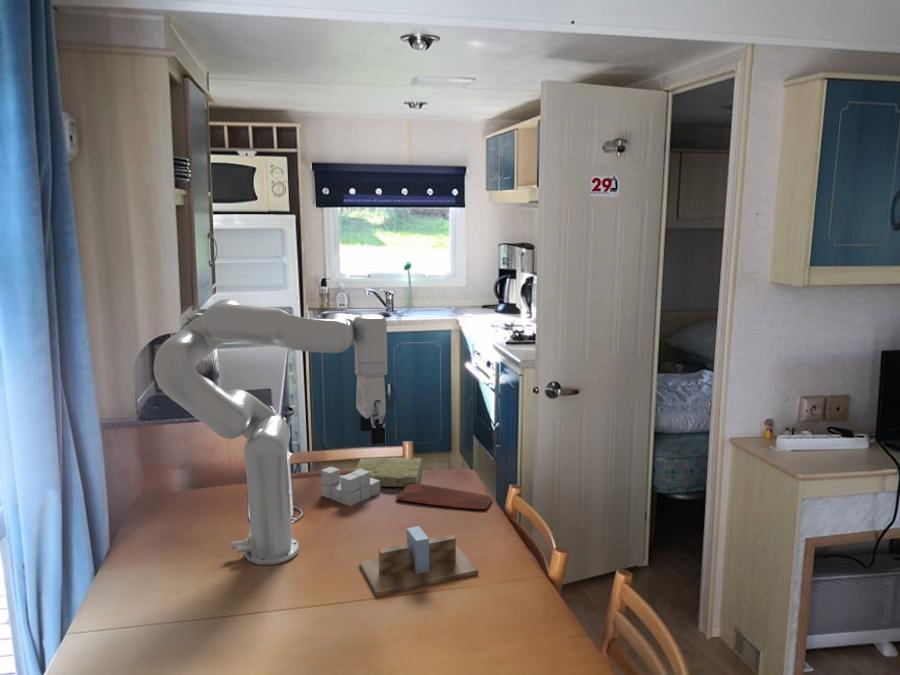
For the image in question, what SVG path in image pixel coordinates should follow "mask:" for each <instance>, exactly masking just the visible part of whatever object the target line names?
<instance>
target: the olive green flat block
mask: <svg viewBox="0 0 900 675" xmlns="http://www.w3.org/2000/svg"><path fill="white" fill-rule="evenodd" d="M407 458H408V457H405V456H404V457H370V456H368V457H367V456H366V457H362V458H360V459H359V462H358V464H357V466H356V468H355V470H354V471H356V470H359V469H363V470H366V471H369V472H370V478H373V479H376V480H379V481H380V487H385V488H386V487H390V488H391V487H392V488H394V487H395V488H396V487H398V488H399V487H401V488H402V487H405V485H406V484H408V483H414V484H419V480H420V479H421V475H422V470H423V460H422V458H421V457H410V458H411V459H407ZM412 458H413V460H412Z"/></svg>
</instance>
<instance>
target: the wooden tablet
mask: <svg viewBox="0 0 900 675" xmlns="http://www.w3.org/2000/svg"><path fill="white" fill-rule="evenodd" d="M395 499H396V500H400V501H405V502H411V503H418V504H427V505H435V506H443V507H452V508H460V509H472V510H473V509H475V510H484V509H485V510H486V509H487V508H488V507H489V505H490V504H491V501H492V496H490V495H487V494H486V495H485V494H482V493H477V492H472V491H465V490H460V489H454V488H449V487H443V486H437V485H429V484H425V483H424V484H421V483H418V484H414V483H408V484H406V485H405V487H404V488H403V491H400V492H399V493H397V494H396V495H395Z"/></svg>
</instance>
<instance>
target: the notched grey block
mask: <svg viewBox="0 0 900 675" xmlns="http://www.w3.org/2000/svg"><path fill="white" fill-rule="evenodd" d="M429 539H430V538H429V537H428V536H427V534H426V532H424V531H423V529H422V528H421V527H420V526H419V525H416V526H412V527H407V528H406V544H408V545H409V547H410V553H411V555H412V556H413V557H414V571H415V572H416V574H418V573H423V572H428V571H429Z"/></svg>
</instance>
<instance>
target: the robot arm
mask: <svg viewBox="0 0 900 675" xmlns="http://www.w3.org/2000/svg"><path fill="white" fill-rule="evenodd" d="M387 323H388V322H387V320H386V318H385V317H384V316H383V315H381V314H373V313H372V314H371V313H370V314H369V313H368V314H361V315H358V314H357V315H356V314H348V313H347V314H346V313H341V312H340V313H338V312H337V313H332V314H330V315H328V316H326V318H324V319H323V318H322V319H319V318H311V317H310V318H309V317H303V316H298V315H293V314H291V313H288V312H287V311H285V310H283V309H281V308H278V307H272V306H271V307H269V306H257V305H256V306H254V305H245V304H244V305H243V304H240V303H239V302H238V301H236V300H232V299H220V300H218V301H216V302H214V303H213V304H211V305H210V306H208V307H207V309H206V310H205V311H204V312H202V313H201V314H200V315H199V316H198V317H196V318H195V319H194V320H192V321H191V322H190V323H188V324H187V325H186V326H184V327H183V328H182V329H180V330H179V331H177V332H176V333H174V335H171V336H170V337H168V338H167V339H166V340H165V341H164V342H163V343H162V344H161V345H160V346H159V348H158V349H157V352H156V354H155V357H154V361H153V375H154V379H155V381H156V384H157V385H158V387H159V389H160V390H161V391H162V392H163V394H165V395H166V396H167V397H168V398H169V399H170V400H172V401H173V402H175V403H176V404H177V405H179V406H180V407H182V408H183V409H184V410H186V411H187V412H188V413H190V415H192V416H193V417H194V418H195V419H196V420H198V421H199V422H200V423H202V424H203V425H205V426H206V427H207V428H208V429H210V430H211V431H212V432H214V433H215V434H216V435H218V436H219V437H221V438H223V439H227V440H233V439H234V440H235V439H237V438H239V437H241V436H243V437H244V438H245V439H246V441H245V445H244V448H243V449H244V451H243V459H244V460H243V461H244V466H245V472H246V483H247V495H248V506H249V507H248V510H249V525H250V526H249V527H250V532H249V533H248V537H247V538H246V537H245V538H244V540H243V539H242V540H235V541H231V542H230V546H231V551H235V550H237V553H238V554H241V553H243V552H244V554H245V556H244V557H245V558H246V560H247V561H248V562H251V563H252V564H255V565H261V566H262V565H263V566H271V565H277V564H280V563H284V562H286V561H289V560H291V559H292V558H294V557H295V556H296V555H297V554H298V552H299V551H300V550H299V549H300V544H299V542H298V541H297V540H296V539H295V538H294V537H293V535H292V534H293V533H292V515H291V495H290V494H291V492H290V477H289V467H288V465H289V464H288V448H289V444H290V441H291V428H290V426H289V425H288V423H287V422H286V420H285V419H284V418H282V417H281V416H280V415H279V414H278V413H276V412H275V411H274V410H272V409H271V408H270V407H268V406H267V405H266V404H265V403H263V402H262V401H261V400H260V399H258V398H257V397H256V396H255V395H253V394H252V393H250V392H249V391H246V390H243V389H240V388H239V389H238V388H234V389H228V390H226V391H225V390H224V389H222V388H221V387H220V386H218V385H217V384H216V383H215V382H214V381H213V380H211V379H209V378H208V377H205V376H204V375H201V374H200V373H199V372H198V371H197V370H196V367H197V365H199V363H200V362H201V361H203V359H204V358H206V357H207V356H208V355H210V354H211V353H212V352H214V351H215V350H216V349H218V348H219V347H220V346H221V345H223V344H224V343H226V342H228V343H239V344H240V343H243V344H256V345H257V344H258V345H270V346H275V347H280V348H285V349H290V350H295V351H302V352H310V353H324V354H330V353H331V354H338V353H342V352H345V351H346V350H347V349H348V348H350V347H351V345H352V344H353V345H354V374H355V375H356V393H355V394H356V395H355V396H356V398H355V399H356V400H355V401H356V402H355V407H356V410H357V411H358V412H359V417H360V418H359V422H360V423H359V425H360V426H359V428H360V432H362V433H364V432H370V444H372V445H381V444H385V442H386V434H385V433H386V428H385V427H386V424H385V421H386V420H385V415H386V411H387V410H386V409H387V408H386V405H387V404H386V386H385V385H386V384H385V376H387V375H388V336H387V335H388V329H387V328H388V326H387V325H388V324H387Z"/></svg>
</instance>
